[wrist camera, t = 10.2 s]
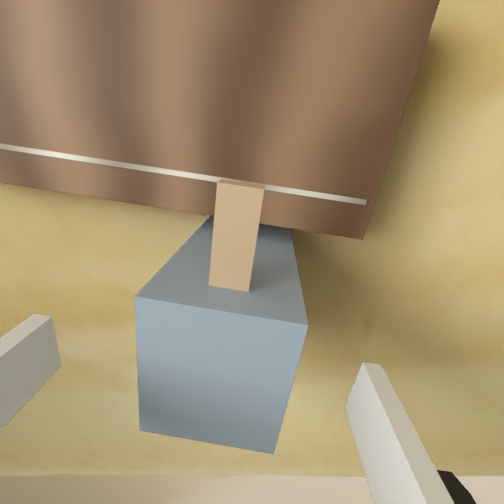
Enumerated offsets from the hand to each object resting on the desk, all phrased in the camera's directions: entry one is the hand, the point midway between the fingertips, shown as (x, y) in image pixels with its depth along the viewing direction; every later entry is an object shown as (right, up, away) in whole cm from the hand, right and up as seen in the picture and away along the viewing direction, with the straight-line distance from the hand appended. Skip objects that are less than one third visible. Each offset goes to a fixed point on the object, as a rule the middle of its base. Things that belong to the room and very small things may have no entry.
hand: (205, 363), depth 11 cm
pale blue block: (+2, +6, +9) cm, 11 cm away
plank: (-5, +15, +6) cm, 17 cm away
